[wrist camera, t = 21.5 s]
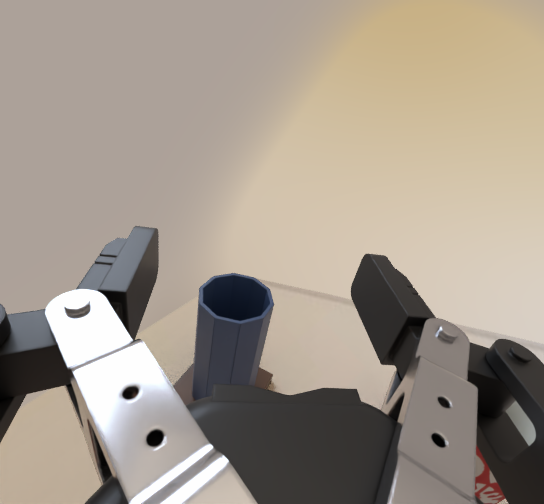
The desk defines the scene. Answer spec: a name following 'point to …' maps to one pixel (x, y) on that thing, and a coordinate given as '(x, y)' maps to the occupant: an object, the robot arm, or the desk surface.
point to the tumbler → (230, 332)
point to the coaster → (186, 383)
